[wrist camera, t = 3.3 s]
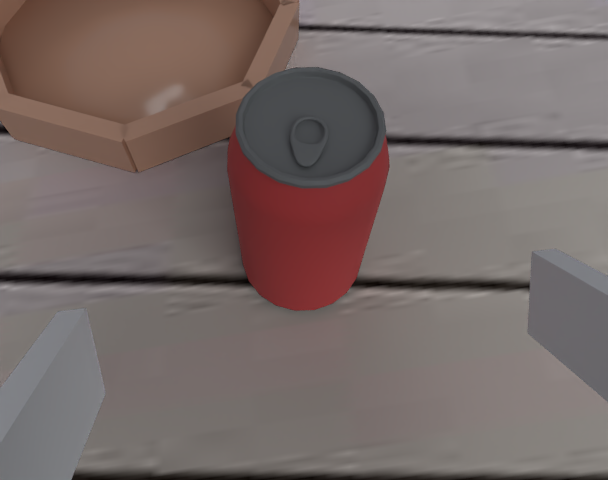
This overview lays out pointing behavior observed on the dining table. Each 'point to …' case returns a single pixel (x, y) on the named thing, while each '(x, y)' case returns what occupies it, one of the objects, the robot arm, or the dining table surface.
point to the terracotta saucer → (136, 72)
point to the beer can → (306, 183)
